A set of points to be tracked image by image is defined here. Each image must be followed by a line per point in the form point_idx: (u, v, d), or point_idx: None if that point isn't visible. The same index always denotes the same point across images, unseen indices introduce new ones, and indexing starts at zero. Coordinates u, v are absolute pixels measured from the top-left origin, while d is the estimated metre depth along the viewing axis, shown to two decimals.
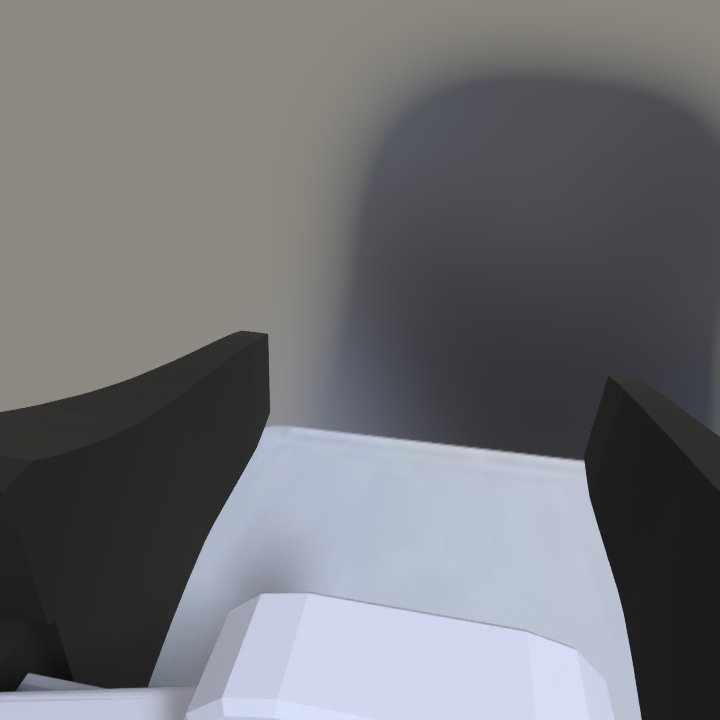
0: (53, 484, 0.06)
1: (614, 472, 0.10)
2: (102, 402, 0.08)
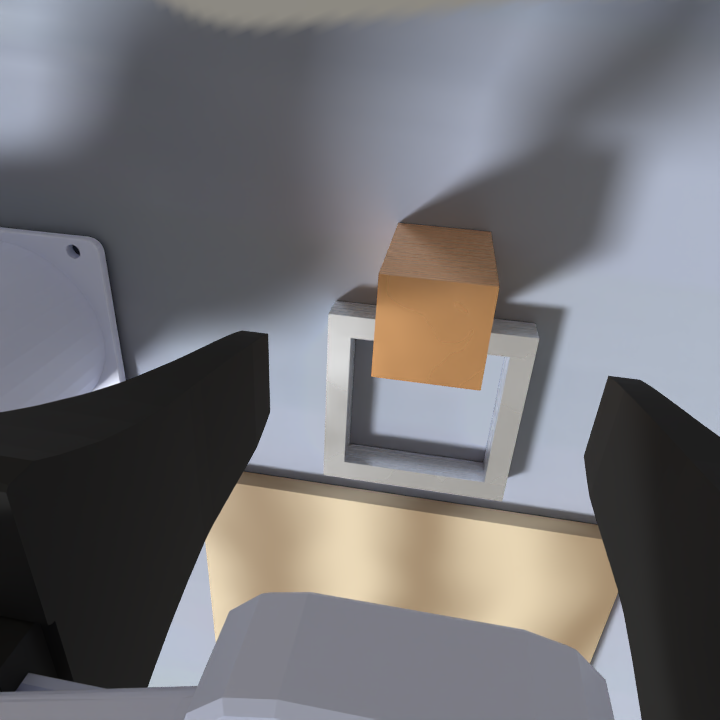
0: (53, 484, 0.06)
1: (614, 472, 0.10)
2: (103, 402, 0.08)
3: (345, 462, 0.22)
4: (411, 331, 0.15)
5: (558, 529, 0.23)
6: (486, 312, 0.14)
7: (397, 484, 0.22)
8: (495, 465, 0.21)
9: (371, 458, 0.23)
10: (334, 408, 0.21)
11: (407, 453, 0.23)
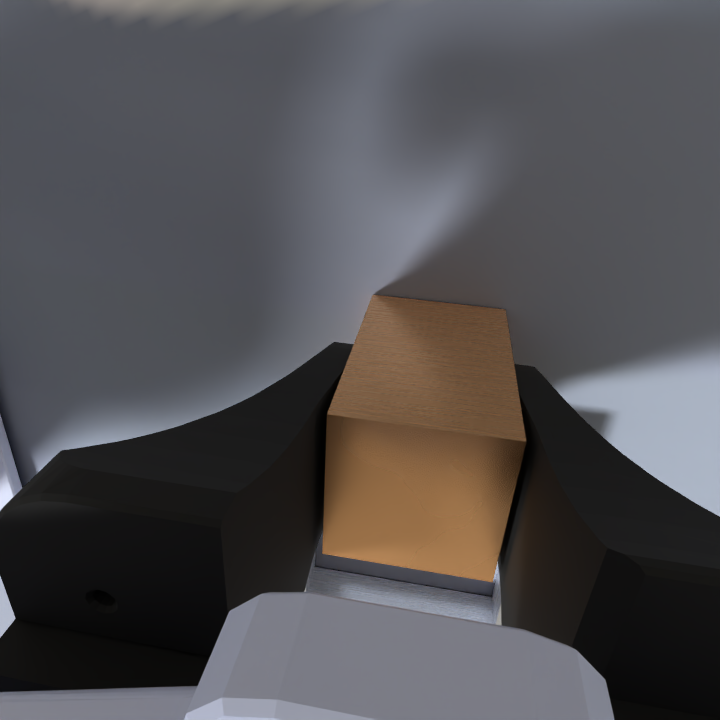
0: (244, 515, 0.06)
1: None
2: (241, 422, 0.08)
3: None
4: (383, 497, 0.09)
5: None
6: (503, 477, 0.09)
7: None
8: None
9: (342, 592, 0.17)
10: None
11: (391, 582, 0.17)
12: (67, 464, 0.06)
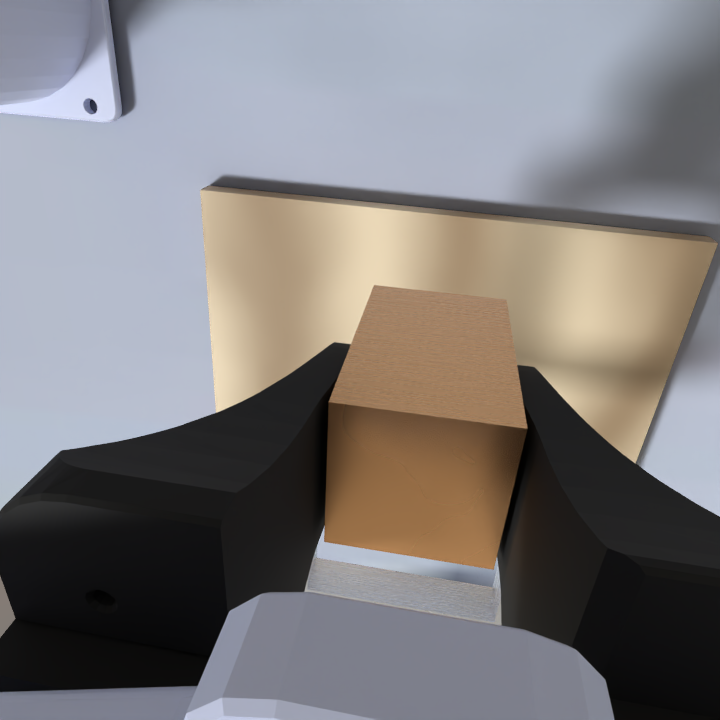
0: (244, 515, 0.06)
1: None
2: (241, 421, 0.08)
3: (309, 590, 0.17)
4: (384, 485, 0.09)
5: (624, 232, 0.19)
6: (505, 464, 0.09)
7: None
8: None
9: (344, 582, 0.17)
10: None
11: (392, 573, 0.17)
12: (67, 464, 0.06)
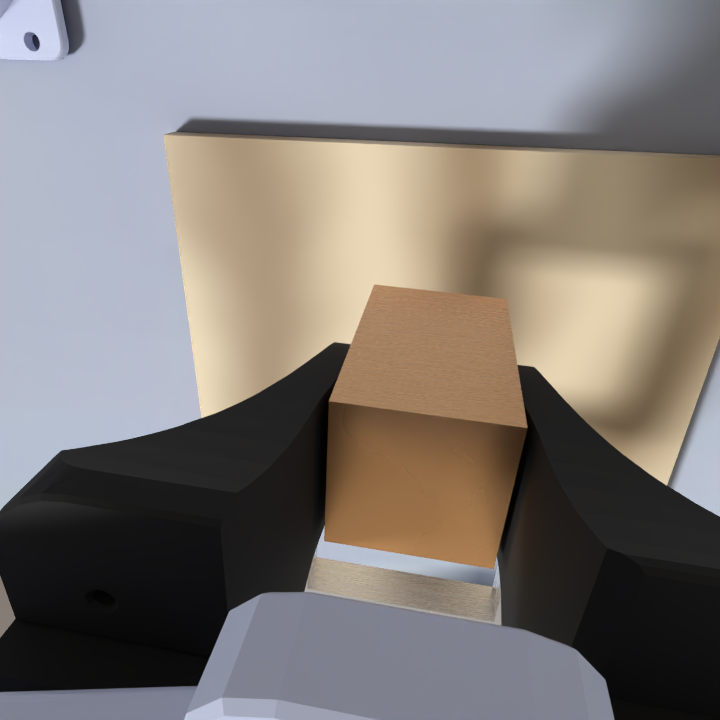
0: (244, 515, 0.06)
1: None
2: (241, 422, 0.08)
3: (309, 589, 0.17)
4: (385, 485, 0.09)
5: (665, 156, 0.16)
6: (505, 463, 0.09)
7: None
8: None
9: (344, 582, 0.17)
10: None
11: (392, 573, 0.17)
12: (67, 464, 0.06)
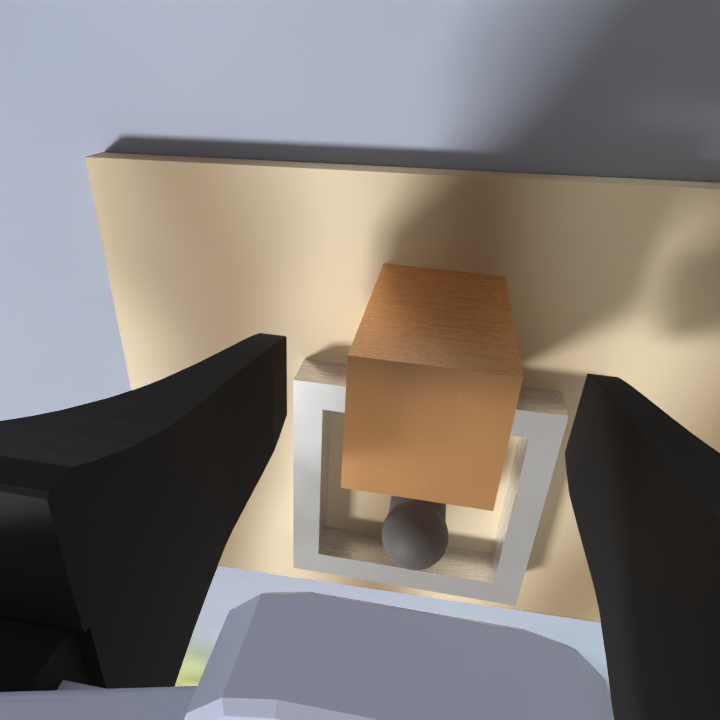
0: (90, 490, 0.06)
1: (591, 469, 0.11)
2: (130, 406, 0.08)
3: (320, 554, 0.18)
4: (396, 433, 0.11)
5: None
6: (503, 411, 0.10)
7: (385, 581, 0.18)
8: (508, 564, 0.17)
9: (352, 548, 0.18)
10: (303, 492, 0.17)
11: None
12: None
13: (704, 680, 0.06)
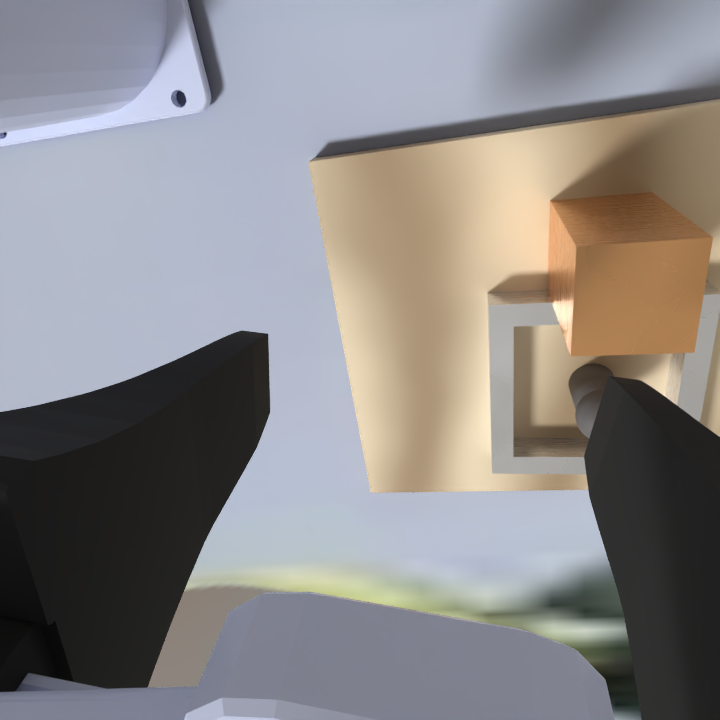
0: (53, 484, 0.06)
1: (614, 472, 0.10)
2: (103, 403, 0.08)
3: (514, 457, 0.21)
4: (615, 302, 0.14)
5: None
6: (699, 267, 0.14)
7: (572, 472, 0.21)
8: None
9: (539, 449, 0.22)
10: (499, 402, 0.20)
11: (575, 439, 0.22)
12: None
13: None
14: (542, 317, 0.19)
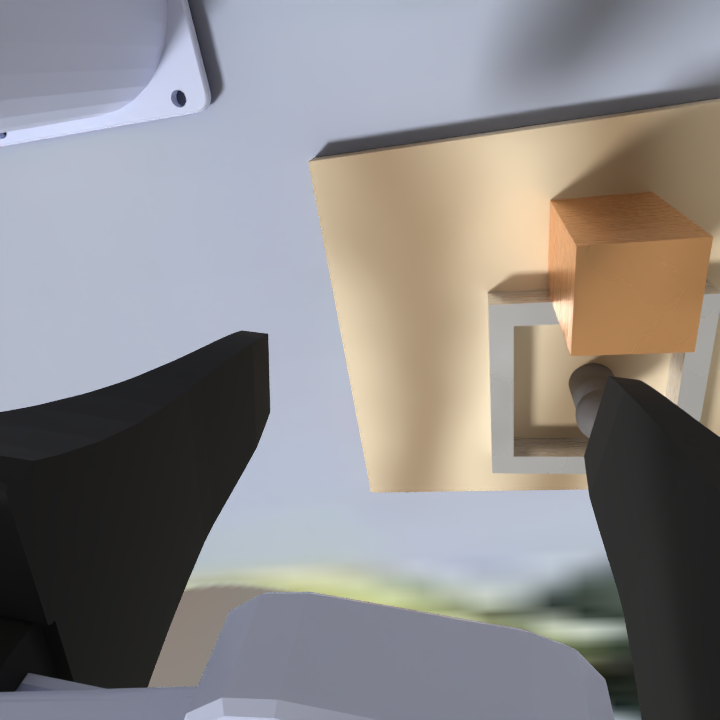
0: (53, 484, 0.06)
1: (614, 472, 0.10)
2: (103, 403, 0.08)
3: (515, 456, 0.21)
4: (615, 301, 0.14)
5: None
6: (699, 266, 0.14)
7: (572, 472, 0.21)
8: None
9: (540, 449, 0.22)
10: (499, 402, 0.20)
11: (575, 439, 0.22)
12: None
13: None
14: (542, 317, 0.19)
